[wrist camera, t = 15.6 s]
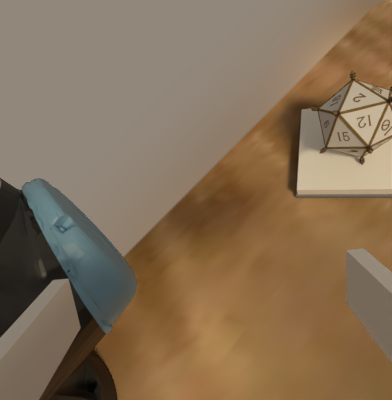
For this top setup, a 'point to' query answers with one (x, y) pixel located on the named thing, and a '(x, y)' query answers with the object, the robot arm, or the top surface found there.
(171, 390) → the top surface
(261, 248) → the top surface
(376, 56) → the top surface
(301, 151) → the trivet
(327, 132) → the game die
